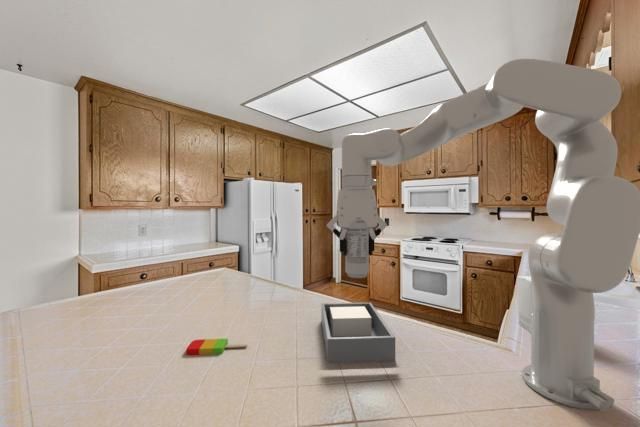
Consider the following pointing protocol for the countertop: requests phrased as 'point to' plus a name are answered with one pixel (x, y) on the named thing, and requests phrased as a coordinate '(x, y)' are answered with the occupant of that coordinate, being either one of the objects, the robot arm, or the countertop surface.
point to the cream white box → (350, 321)
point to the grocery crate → (358, 339)
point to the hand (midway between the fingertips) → (356, 253)
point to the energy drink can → (357, 249)
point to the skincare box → (525, 301)
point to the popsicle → (209, 346)
